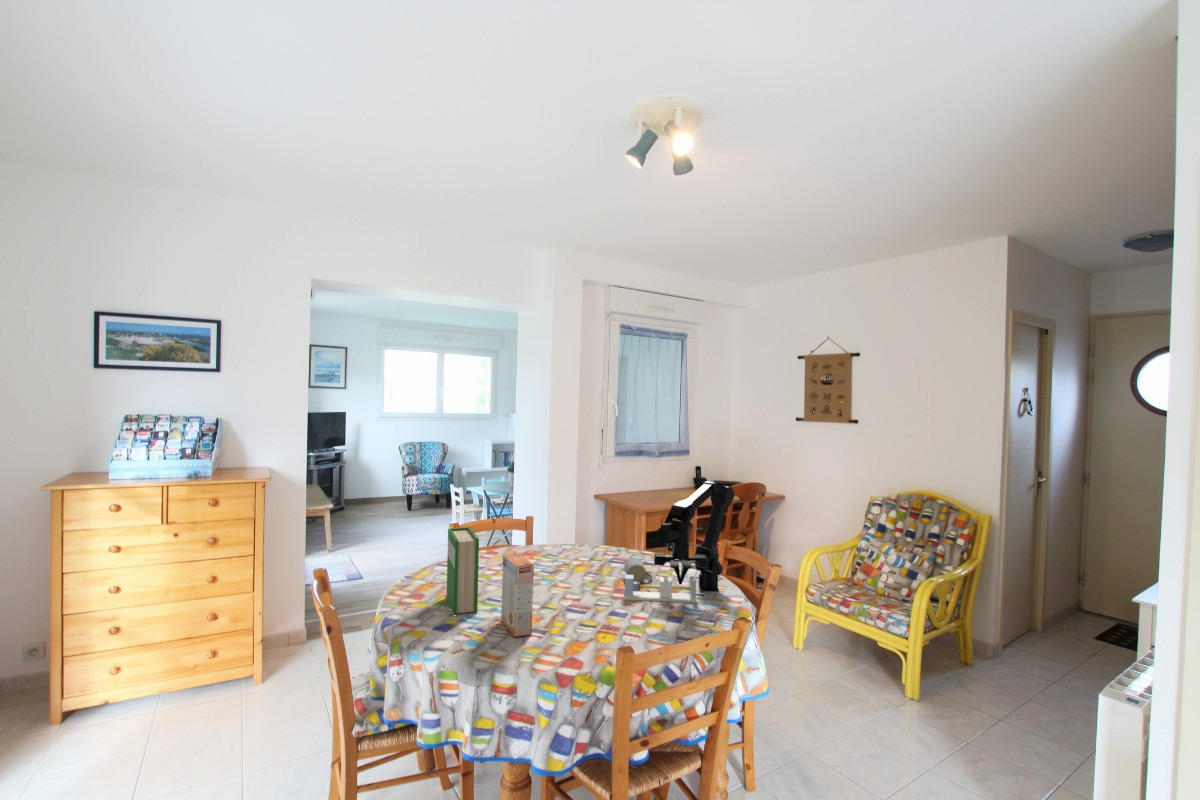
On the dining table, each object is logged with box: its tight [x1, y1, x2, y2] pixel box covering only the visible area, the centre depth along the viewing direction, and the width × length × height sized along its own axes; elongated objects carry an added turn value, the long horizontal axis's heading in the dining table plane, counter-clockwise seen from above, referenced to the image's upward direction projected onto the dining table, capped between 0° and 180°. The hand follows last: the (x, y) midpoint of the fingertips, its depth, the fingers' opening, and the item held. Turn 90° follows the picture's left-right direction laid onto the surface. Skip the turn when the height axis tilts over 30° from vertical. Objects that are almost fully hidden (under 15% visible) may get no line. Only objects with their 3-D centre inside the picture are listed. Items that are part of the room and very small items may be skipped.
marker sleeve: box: [658, 576, 673, 597], centre depth 192 cm, size 4×5×6 cm
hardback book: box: [446, 526, 480, 616], centre depth 181 cm, size 18×7×24 cm, turn 23°
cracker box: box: [500, 552, 535, 638], centre depth 164 cm, size 14×6×21 cm, turn 25°
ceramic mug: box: [623, 557, 654, 583], centre depth 211 cm, size 11×8×8 cm
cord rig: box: [624, 574, 697, 603], centre depth 192 cm, size 25×7×7 cm, turn 87°
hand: (680, 584), depth 192 cm, fingers closed
